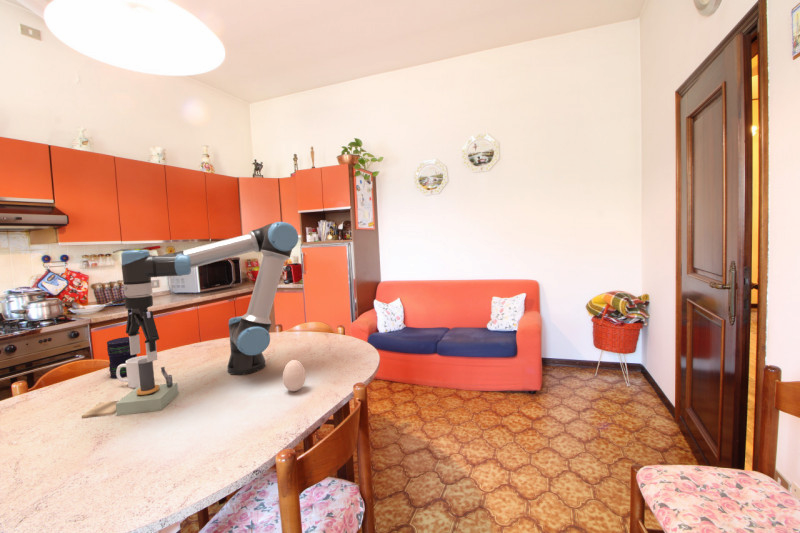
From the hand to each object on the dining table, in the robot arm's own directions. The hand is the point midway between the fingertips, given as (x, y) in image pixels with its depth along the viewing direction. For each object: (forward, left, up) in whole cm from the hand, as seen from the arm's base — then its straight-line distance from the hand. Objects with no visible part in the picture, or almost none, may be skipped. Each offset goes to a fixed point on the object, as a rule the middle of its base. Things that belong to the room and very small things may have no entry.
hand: (143, 357), depth 118 cm
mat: (+12, +1, -17) cm, 21 cm away
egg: (-49, +3, -17) cm, 52 cm away
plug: (0, 0, -17) cm, 17 cm away
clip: (-3, -8, -12) cm, 15 cm away
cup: (+14, -20, -17) cm, 30 cm away
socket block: (0, 0, -17) cm, 17 cm away
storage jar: (+25, -34, -17) cm, 45 cm away
